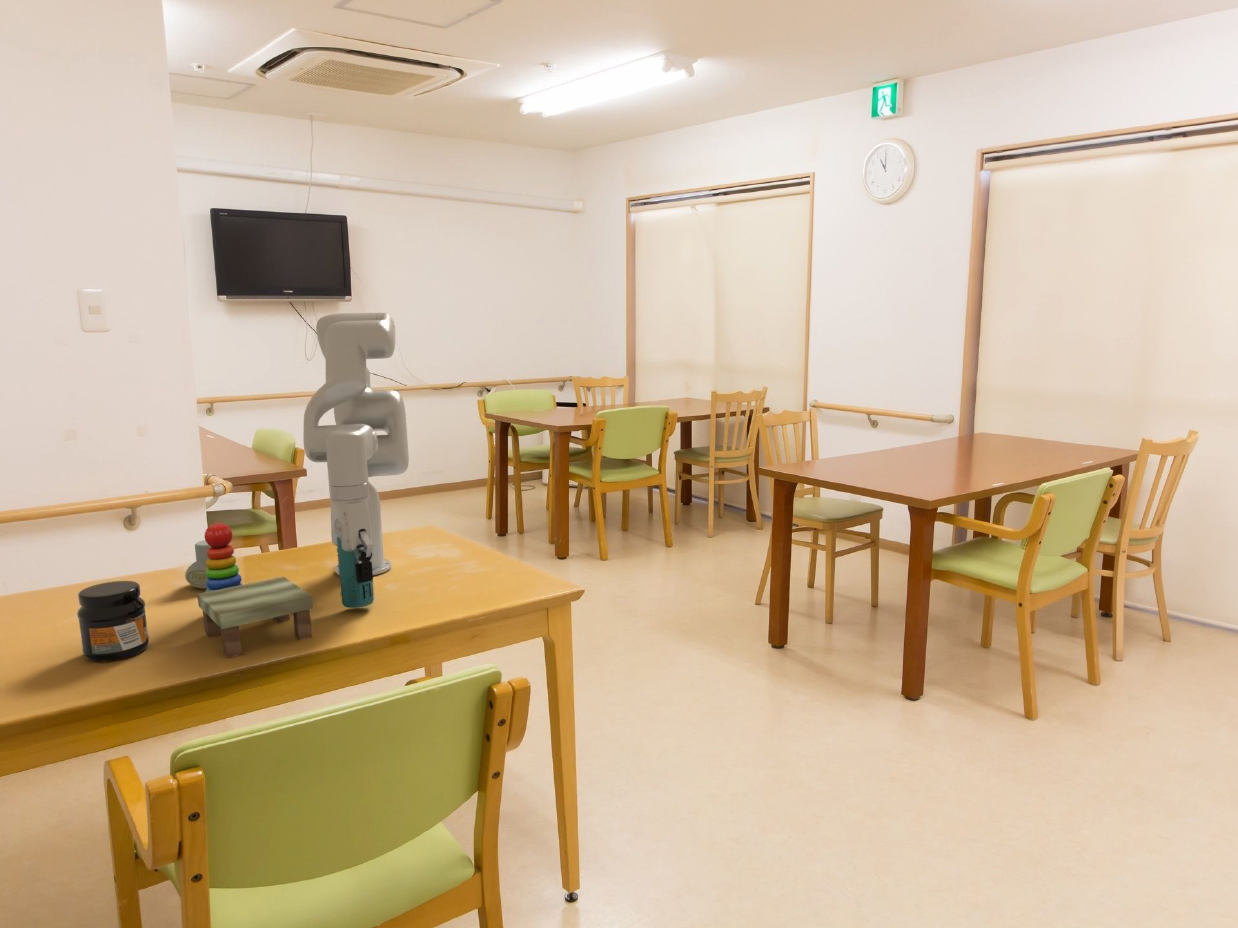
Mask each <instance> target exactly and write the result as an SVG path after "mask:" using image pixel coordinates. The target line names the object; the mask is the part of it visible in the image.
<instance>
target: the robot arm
mask: <svg viewBox="0 0 1238 928" xmlns="http://www.w3.org/2000/svg"><path fill="white" fill-rule="evenodd" d="M315 329H316V330H315V331H316V336H317V341H318V346H319V348H320V350H321V353H322V355H323V358H324V360H325V362H324V364H325V383H323V385H321V386H320V388H318V389H317V391H315V393H314V394H313V395H312V397H311V398H310V399H309V402H308V403H307V404H306V407H305V410H304V413H303V435H302V436H303V450H304V453H305V456H306V458H307V459H308V460H310V461H311V462H313V463H318V464H319V463H326V465H327V478H328V479H327V480H328V490H329V492H328V493H329V501H330V502H331V503H330V525H331V526H330V530H331V531H330V532H331V533H330V536H331V543H332V544H333V545H334V546H335V547H336V552H337V554H338V547H337V540H336V538H337V537H339V538H340V539H341V541H342V542H341V545H342V549H343V550H345V551H347V552H352V550H353V551H354V554H355V558H356V561H357V563H355V569H356V581H357V583H363V582H368V581H372V580H373V581H374V577H373V576H376V575H380V574H383V573H386V572H388V571H389V570H390V569H391V568H392V561H390V560H389V559H387V558H385V554H384V542H383V541H384V540H383V527H382V524H383V523H382V513H381V511H382V510H381V499H380V495H379V492H378V490H377V489H376V487H375V486H374V485H373V484H372V483H371V482H370V481H369V478H373V477H387V476H399V475H402V474H404V473H405V472H406V471H407V470H408V468H409V460H410V459H409V456H410V455H409V444H408V429H407V417H406V416H407V415H406V407H405V403H404V399H403V397H402V395H401V394H400V393H399V392H398V391H397V390H394V389H372V388H371V374H370V370H369V368H368V367H367V360H375V359H377V360H381V359H389V358H391V357H392V356H393V355H394V352H395V349H396V326H395V322H394V319H393V317H392V316H391V315H390V314H389V313H386V312H347V313H346V312H344V313H343V312H341V313H340V312H339V313H331V314H326V315H324V316H321V317H320V318H319V319H317V321H316V326H315ZM332 409H333V416H334V417H333V418H334V422H335V424H329V425H328V424H327V425H325V424H324V425H319V422H320V419H321V418H322V417H323V415H325V414H326V413H328V411H330V410H332ZM378 431H379V432H380V431H381V432H382V431H383V432H385V433H386V434H377V432H378ZM359 545H363V546H364V547H359V548H357V546H359ZM362 551H364V552H362ZM359 552H362V554H361V556H360V554H359ZM337 562H338V564H337V565H336V566H335V567H334V570H335V574H337V575H338V576H340V574H339V572H338V571H339V559H338V558H337Z"/></svg>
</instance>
